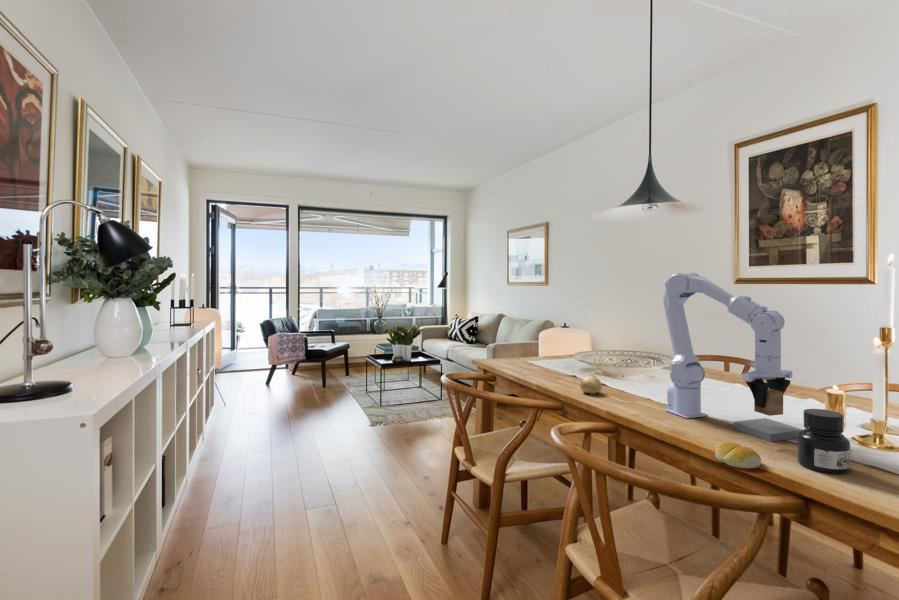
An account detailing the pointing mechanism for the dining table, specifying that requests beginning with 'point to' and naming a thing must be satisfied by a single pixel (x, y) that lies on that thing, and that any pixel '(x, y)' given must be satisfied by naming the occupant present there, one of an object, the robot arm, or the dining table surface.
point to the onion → (591, 385)
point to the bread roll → (737, 456)
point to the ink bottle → (824, 442)
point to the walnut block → (771, 403)
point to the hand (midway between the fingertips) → (767, 405)
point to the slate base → (767, 429)
